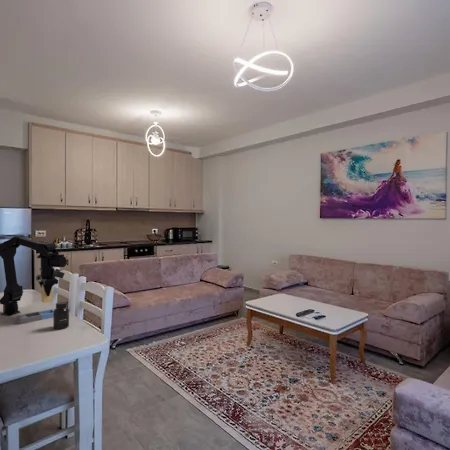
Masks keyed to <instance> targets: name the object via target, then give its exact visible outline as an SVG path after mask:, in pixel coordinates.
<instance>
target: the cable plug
mask: <svg viewBox="0 0 450 450" xmlns="http://www.w3.org/2000/svg"><path fill="white" fill-rule="evenodd" d="M41 302H42V303H44V304H45V303H46V304H47V303H51V302H53V288H52V289H51V292H50V295H49V296H47V295H46V293H45V290H44V288H43V285H42V288H41Z"/></svg>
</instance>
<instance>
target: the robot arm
mask: <svg viewBox="0 0 450 450" xmlns="http://www.w3.org/2000/svg"><path fill="white" fill-rule="evenodd" d="M20 246H22V247H26V248H30V249H31V250H32V249H33V250H35V252H37V253H38V256H36V259H40V268H39V271H40V274H37V275H36V276H35V280H36V281H37V283H38V284H39V286H40V288H41V289H42V285H43V288H44V290H45V293H46V295H47V296H49V295H50V292H51V289H52V290H53V287H54V285H58V284H59V279H58V278H60V279H62V280H63V278H64V276H65V274H66V273H65V272H63V271H61V269H58V268H64V267H66V266H67V263H68V260H67V257H66V256H65V254H64V253H63V254H60V253H59V251H58V250H57V248H56V247H55V244H54V243H53V242H46V241H45V242H44V241H43V242H41V241H37V240H33V239H30V238H27V237H24V236H22V235H18V236H13V237H11V238H10V239H8V240H5V241H4V242H0V257H1V259H2V262H3V270H4V277H5V283H6V284H5V288H4V290H3V296H2V297H1V298H0V305H2V311H3V312H2V313H0V315H1V316H3V315H4V316H13V315H16V314H18V313H21V310H19V304H18V302H19V301H21V298H22V296H23V293H24V289H23V286H22V285H19V283H18V279H17V273H16V271H17V270H16V264H15V256H16V254H17V249H18V248H19V247H20ZM55 268H56V269H55Z"/></svg>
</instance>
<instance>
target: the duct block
mask: <svg viewBox="0 0 450 450" xmlns="http://www.w3.org/2000/svg"><path fill="white" fill-rule="evenodd" d="M55 309H56V307H55V308H51V309H46V310H40V311H33V312H29V313H24V314H18V315H17V316H16V321H17V322H18V323H19V324H20V325H23V324H27V323H31V322H36V321H42V320H47V319H53V312H54V310H55Z"/></svg>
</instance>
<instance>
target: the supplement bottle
mask: <svg viewBox="0 0 450 450" xmlns="http://www.w3.org/2000/svg"><path fill="white" fill-rule="evenodd" d="M55 308H56V309H55ZM55 308H54V309H55V310H54V312H53V317H52V319H53V322H52V325H53V329H54V330H64V329H68V328H69V326H70V309H69V307H68V302H67V301H59V302H57V303H55Z"/></svg>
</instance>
